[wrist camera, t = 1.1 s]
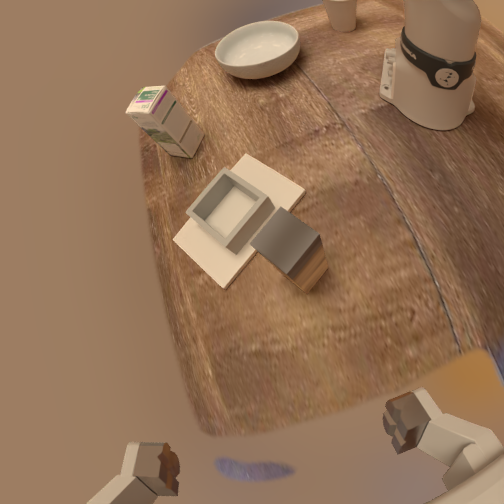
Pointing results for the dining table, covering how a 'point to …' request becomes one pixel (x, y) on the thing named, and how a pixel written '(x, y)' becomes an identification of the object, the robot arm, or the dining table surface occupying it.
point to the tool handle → (292, 249)
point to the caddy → (234, 217)
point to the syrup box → (165, 121)
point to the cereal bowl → (258, 49)
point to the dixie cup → (341, 14)
